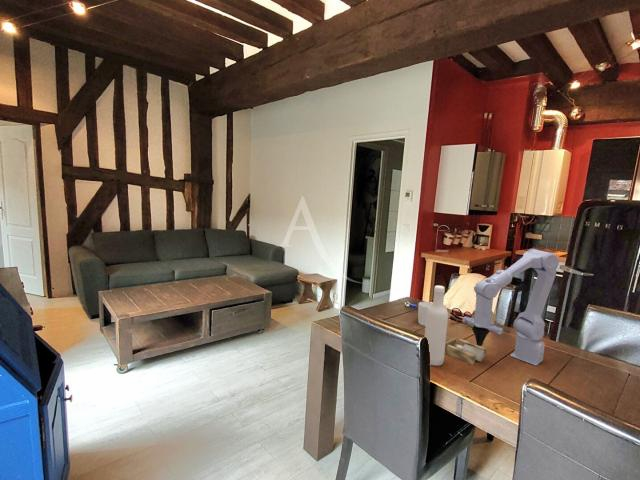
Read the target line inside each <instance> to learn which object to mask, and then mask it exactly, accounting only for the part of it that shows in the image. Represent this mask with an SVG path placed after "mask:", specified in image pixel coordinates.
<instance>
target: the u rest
mask: <svg viewBox="0 0 640 480" xmlns="http://www.w3.org/2000/svg"><path fill="white" fill-rule="evenodd" d="M456 343H457V344H458V345H461V346H464V344H467V345H470V346H473V347H475V348H478V349H481V350H484V358H485V357H486V353H487V348H486V347H483V346H478V345H477V344H476V343H472V342H469V341H467V340H464V339H462V338H459V339H458V340H457V338H456V337H451V338H449V339H446V343H445V355H449V356H451V357H454V358H456V359H459V360H460V361H463V362H465V363H467V364H470V365H472V366H473V365H475V363H476V360H475V355H473V354H471V353H468V352H466V351H464V350H461V349H459V348H456V347H454V346H455V344H456Z"/></svg>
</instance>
